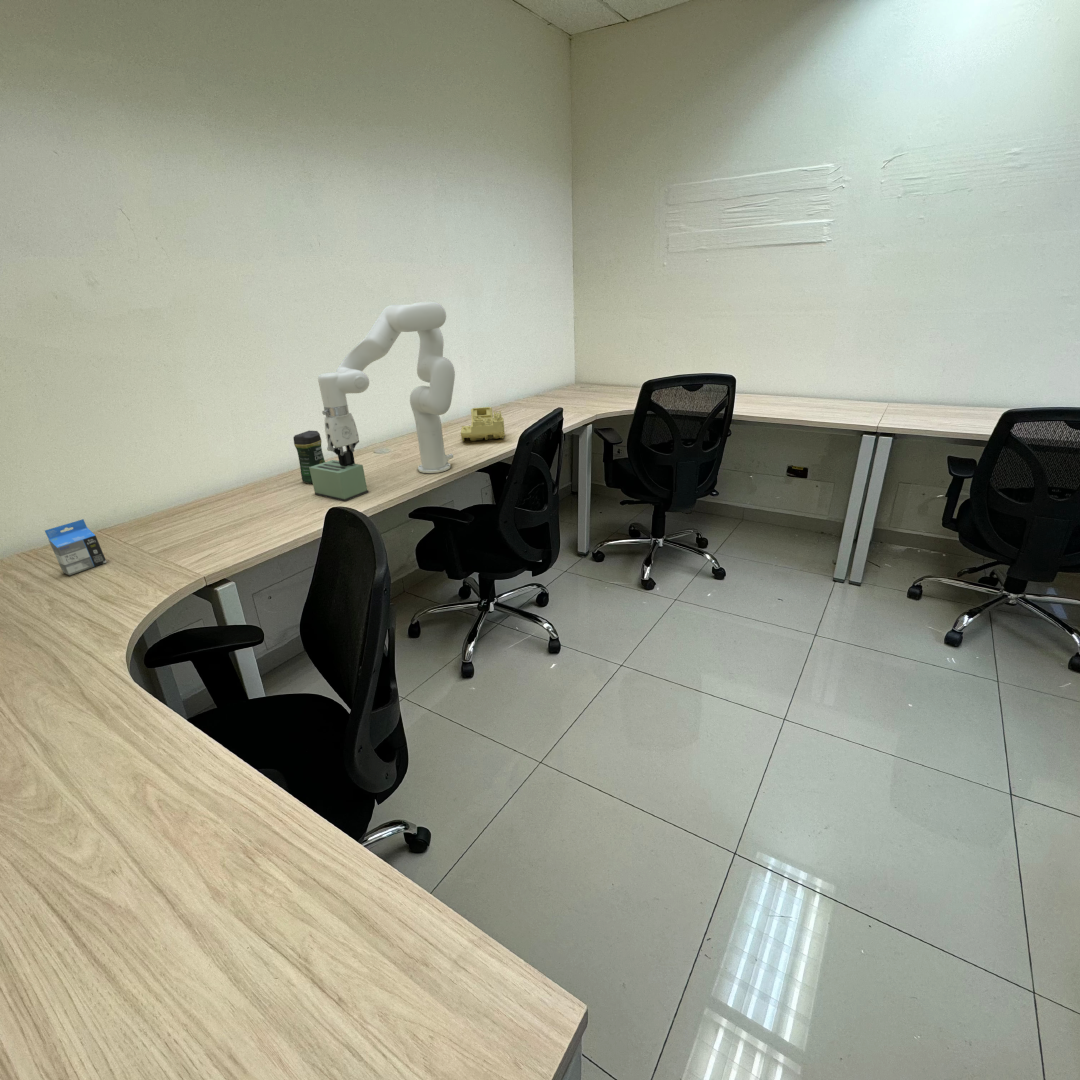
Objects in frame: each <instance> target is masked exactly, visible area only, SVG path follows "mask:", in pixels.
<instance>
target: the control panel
mask: <svg viewBox="0 0 1080 1080" xmlns="http://www.w3.org/2000/svg"><path fill="white" fill-rule="evenodd" d="M470 417H471V421H470V422H471V423H470V425H462V426H461V429H460V437H461V440H462V442H465V439H466V438H467V439H468V438H469V440H470V441H471V442H472V441H473V442H474V441H483V439H484V440H485V441H488V440H491V439H493V440H498V439H502V440H503V439H504V437H505V436H506V435H505V432H506V431H505V420H504V417H503V416H502V411H501V410H499V411H497V412H496V411H493V407H490V406H485V407H484V406H483V407H482V406H481V407H472V408H471V409H470Z"/></svg>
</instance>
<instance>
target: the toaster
mask: <svg viewBox="0 0 1080 1080" xmlns="http://www.w3.org/2000/svg"><path fill="white" fill-rule="evenodd" d="M309 469H310V474H311V478H312V482H313V483H312V486H313V491H314V495H316V496H320V497H324V498H329V499H333V500H337V501H341V502H347V501H349V500H352V499H355V498H357V497H360V496H363V495H364V494H367V493H369V490H368V486H367V481H366V476H365V470H364V465H363V464H360V463H354V464H347V466H341V465H340V463H339V460H338V459H337V460H336V459H331V460H327V461H325V462H324V463H321V464H318V465H315V466H312V467H309Z"/></svg>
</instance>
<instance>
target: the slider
mask: <svg viewBox="0 0 1080 1080" xmlns="http://www.w3.org/2000/svg"><path fill="white" fill-rule="evenodd" d="M343 452H344V455H346V460H347V464H350V463H352V460H351V455H350V452H349V451H346V450H345V451H344V450H343Z"/></svg>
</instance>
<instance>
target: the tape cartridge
mask: <svg viewBox="0 0 1080 1080" xmlns="http://www.w3.org/2000/svg"><path fill="white" fill-rule="evenodd" d="M70 528H72V529H70ZM65 529H69V530H65ZM64 530H65V531H64ZM61 531H62V532H61ZM44 533H45V535H46V537H47V538H48V543H49V544H50V546H51V549H52V551H53V553H54V555H55V559H56V561H57V563H58V564H59V565H58V566H59V567H60V569H61V571H62V573H63V574H64V575H67V576H72V575H75V574H78V573H80V572H84V571H87V570H90V569H92V568H95V567H97V566H100V565H103V564H107V560H106V557H105V554H104V552H103V550H102V548H101V545H100V543H99V540H98V537H97V535H96V534H95V533H94V532H92V530H91V529H90V528H89V527H88V526H87V524H86V522H85V519H83V518H82V519H78V520H76V521H72V522H69V523H65V524H62V525H59V526H56V527H51V528H49V529H45V530H44Z"/></svg>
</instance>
